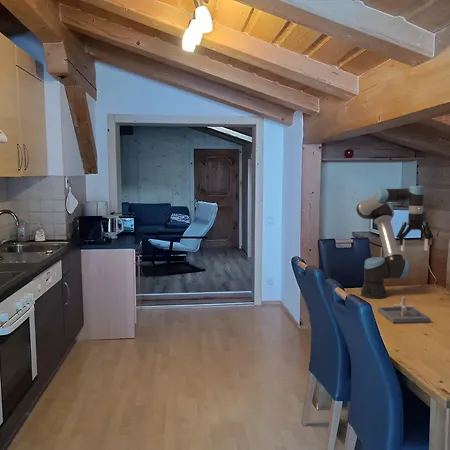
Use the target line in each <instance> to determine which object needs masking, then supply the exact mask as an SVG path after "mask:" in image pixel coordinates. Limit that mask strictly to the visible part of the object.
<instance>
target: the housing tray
mask: <svg viewBox="0 0 450 450" xmlns="http://www.w3.org/2000/svg"><path fill="white" fill-rule="evenodd" d="M377 313H379V314H380V315H381V316H383V317H384V318H385V319H387V320H388V321H389V322H390V323H391V324H393V325H397V324H398V325H400V324H401V325H403V324H430V323H431V317H429V316H427V314H425V313H423V312H421V311H420V310H419V309H416V308H415V307H414V308H407V310H406V311H405V316H401V308H394V307H393V306H385V307H383V306H382V307H381V306H380V307H377Z"/></svg>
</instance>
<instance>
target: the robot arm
mask: <svg viewBox="0 0 450 450" xmlns="http://www.w3.org/2000/svg"><path fill="white" fill-rule="evenodd" d="M424 201H425V186H423V185H410V186H409V188H407V187H404V188H378V189H376V191H375V193H374V195H373V196H371V197H369V198H368V199H365V200H362V201H359V203H357V205H356V208H355V209H356V214H357V215H358V216H359V218H362V219H364V220H373V223H374V224H375V225H376V226H377V230H378V234H379V237H380V238H379V239H380V241H381V246H382V250H383V253H384V257H380V256H377V257H375V256H374V257H368V258H366V259H365V260H364V266H363V268H364V269H363V270H364V271H363V272H364V273H363V274H364V275H363V278H364V279H363V285H362V287H361V290H360V295H361V297H364V298H368V299H375V300H376V299H385V298H387V290H386V287H385V283H384V282H385V280H386V279H387V280H388V279H396V280H397V279H405V278H407V276H408V275H409V271H410V263H409V261H408V259H406V258H404V257H403V255H402V254H401V253H400V251H401V252H405V244H406V243H405V241H406V240H405V238H406V236H407V235H408V234H409V233H410V232H411V231H412V230H413V231H416V230H419V232H420V233H422V235H423V237H424V241H423V242H424V244H423V250H424V251H428V249H429V245H430V241H431V239H433V238H434V235H433V233H432V231H431V228H430V225H429V221H423V220H424ZM392 202H393V203H394V202H395V203H396V202H397V203H399V202H407V203H408V217H407V218H408V219H407V220H408V221H407V222H406V221H403V222H402V225H401V226H400V229H399V230H398V233H397V235H395V234H394V229H393V225H392V220H393V218H394V214H395V212H394V211H395V209H394V206H393V204H392ZM423 226H424V227H423ZM395 236H396V237H395ZM396 238H397V239H399V246H400V251H399V248H398V244H397V241H396Z"/></svg>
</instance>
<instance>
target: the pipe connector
mask: <svg viewBox="0 0 450 450" xmlns="http://www.w3.org/2000/svg"><path fill="white" fill-rule="evenodd" d="M400 300H401V302H399V304H397V303H392V307H394V308H401V316H405V311H406V310H407V308H415V307H414V305H413V304H406V296H401V299H400Z"/></svg>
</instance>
